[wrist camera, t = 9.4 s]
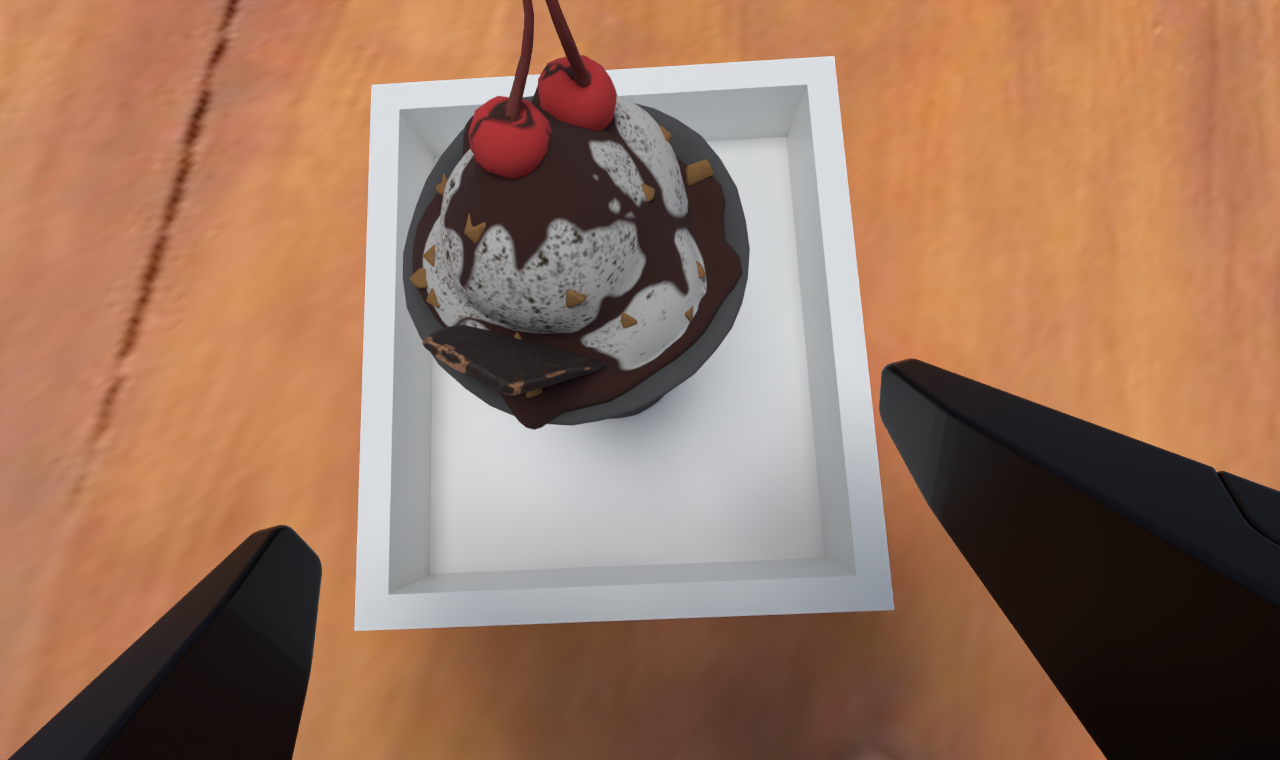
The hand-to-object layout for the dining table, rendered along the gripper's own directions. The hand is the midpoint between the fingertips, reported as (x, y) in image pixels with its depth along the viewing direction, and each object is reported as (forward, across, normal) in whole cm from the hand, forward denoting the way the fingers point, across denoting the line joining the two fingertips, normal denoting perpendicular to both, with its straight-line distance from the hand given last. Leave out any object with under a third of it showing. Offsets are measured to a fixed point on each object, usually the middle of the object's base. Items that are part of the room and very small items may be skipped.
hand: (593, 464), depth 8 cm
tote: (+12, -1, +6) cm, 13 cm away
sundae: (+11, 0, +6) cm, 13 cm away
